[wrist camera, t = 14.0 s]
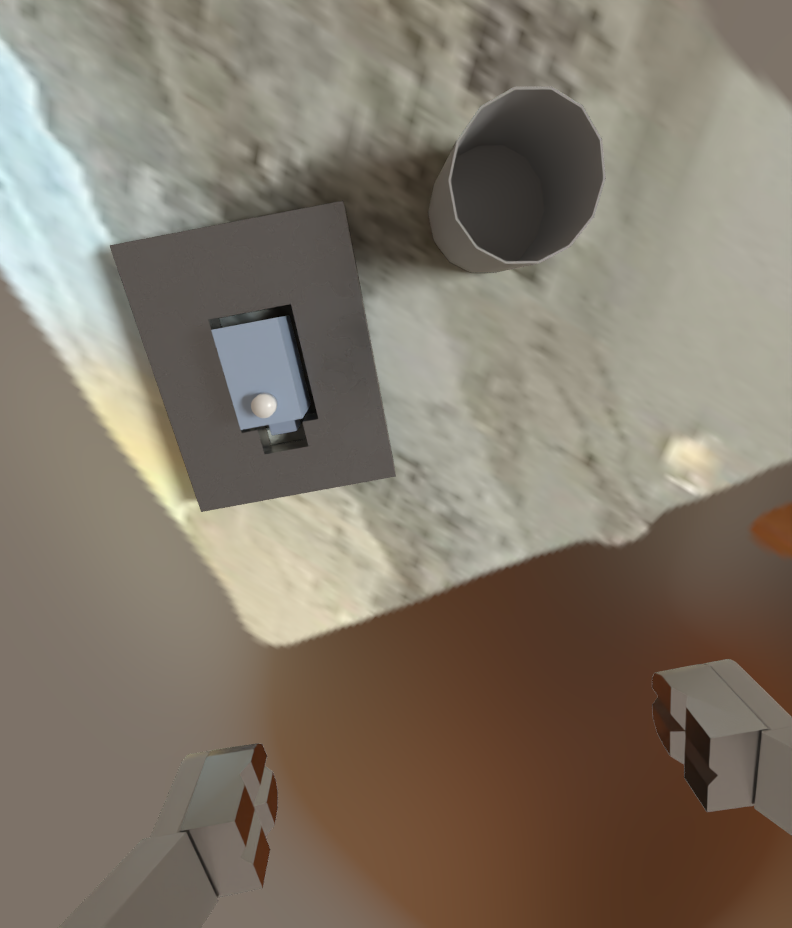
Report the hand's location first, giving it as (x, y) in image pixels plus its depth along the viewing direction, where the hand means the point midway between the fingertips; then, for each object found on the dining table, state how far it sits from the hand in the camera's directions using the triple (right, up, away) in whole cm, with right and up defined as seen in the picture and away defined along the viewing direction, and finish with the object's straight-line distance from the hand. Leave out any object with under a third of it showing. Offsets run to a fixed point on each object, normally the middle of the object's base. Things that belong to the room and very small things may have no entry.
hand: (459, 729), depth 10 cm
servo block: (-11, +13, +28) cm, 33 cm away
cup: (+5, +24, +25) cm, 35 cm away
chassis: (-11, +13, +28) cm, 33 cm away
